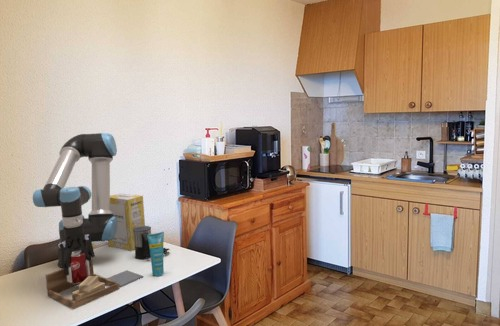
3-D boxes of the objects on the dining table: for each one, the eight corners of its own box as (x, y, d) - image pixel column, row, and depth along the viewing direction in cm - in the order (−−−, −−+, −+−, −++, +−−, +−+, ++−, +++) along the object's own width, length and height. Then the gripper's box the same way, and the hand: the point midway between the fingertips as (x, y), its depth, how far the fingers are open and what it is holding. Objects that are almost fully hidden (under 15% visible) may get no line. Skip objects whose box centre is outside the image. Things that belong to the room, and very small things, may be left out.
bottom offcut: (72, 301, 156) (71, 292, 155) (97, 288, 166) (96, 280, 166) (80, 303, 153) (80, 295, 153) (105, 291, 164) (104, 283, 163)
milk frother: (131, 257, 201) (128, 228, 199) (156, 248, 213) (154, 221, 211) (147, 263, 192) (145, 233, 190) (173, 253, 204) (171, 225, 202)
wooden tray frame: (47, 295, 160) (45, 274, 159) (92, 278, 176) (90, 259, 175) (74, 309, 148) (71, 286, 147) (119, 288, 164) (117, 268, 163)
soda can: (76, 286, 159) (73, 257, 157) (65, 282, 163) (62, 254, 161) (92, 279, 165) (89, 251, 164) (81, 275, 169) (78, 249, 167)
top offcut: (79, 292, 155) (78, 285, 154) (89, 282, 164) (88, 276, 163) (89, 292, 155) (88, 285, 154) (98, 282, 164) (98, 275, 163)
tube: (152, 277, 174) (149, 236, 172) (148, 274, 178) (145, 233, 176) (168, 273, 178) (165, 232, 176) (164, 270, 182) (161, 230, 180)
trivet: (103, 281, 173) (103, 279, 172) (126, 271, 182) (126, 270, 182) (120, 287, 165) (120, 285, 165) (143, 277, 175) (143, 275, 175)
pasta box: (108, 246, 219) (104, 197, 215) (123, 240, 228) (119, 193, 224) (132, 251, 210) (128, 199, 206) (146, 245, 219) (142, 195, 215)
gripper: (53, 233, 150) (59, 290, 154) (100, 220, 166) (105, 271, 170) (43, 230, 155) (50, 285, 158) (90, 217, 171) (95, 267, 174)
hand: (78, 278), depth 164 cm, fingers closed on soda can, 7 cm apart
